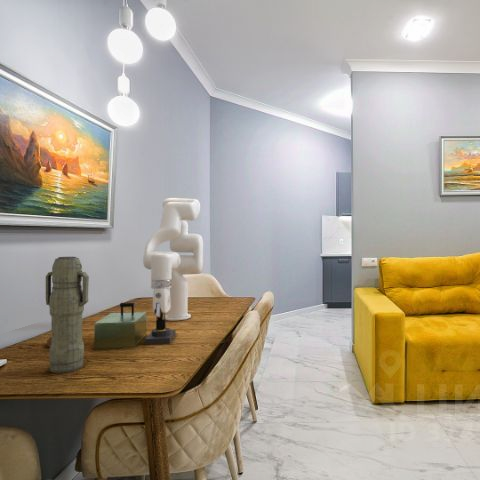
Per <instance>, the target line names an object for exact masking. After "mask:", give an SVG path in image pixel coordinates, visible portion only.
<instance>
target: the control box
mask: <svg viewBox="0 0 480 480" xmlns="http://www.w3.org/2000/svg"><path fill="white" fill-rule="evenodd" d="M165 329H166V330H165V331H156V328H153V329H151V332H150V333H148V335H146V336H145V337H144V346H145V345H148V346H149V345H169V344H171V342H173V340H174V338H175V336H176V334H177V332H176V331H177V330H176V329H171V328H169V327H166V328H165Z"/></svg>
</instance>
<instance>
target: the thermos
mask: <svg viewBox="0 0 480 480" xmlns="http://www.w3.org/2000/svg"><path fill="white" fill-rule="evenodd" d="M89 280H90V276H89V274H87V272H86V271H83V265H82V263H81V260H80V258H79V257H77V256H58V258H55V259H54V261H53V264H52V267H51V271H49V272H47V274H46V275H45V304H46V306H48V308H49V315H50V319H51V324H50V325H51V326H50V327H51V328H50V329H51V336H50V337H51V347H49V348H48V363H49V372H50V373H54V374H61V373H62V374H63V373H69V372H73V371H76V370H79V369H81V368H82V367H84V358H85V342H84V341H83V313H84V311H85V305H87V303H88V302H89Z"/></svg>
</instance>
